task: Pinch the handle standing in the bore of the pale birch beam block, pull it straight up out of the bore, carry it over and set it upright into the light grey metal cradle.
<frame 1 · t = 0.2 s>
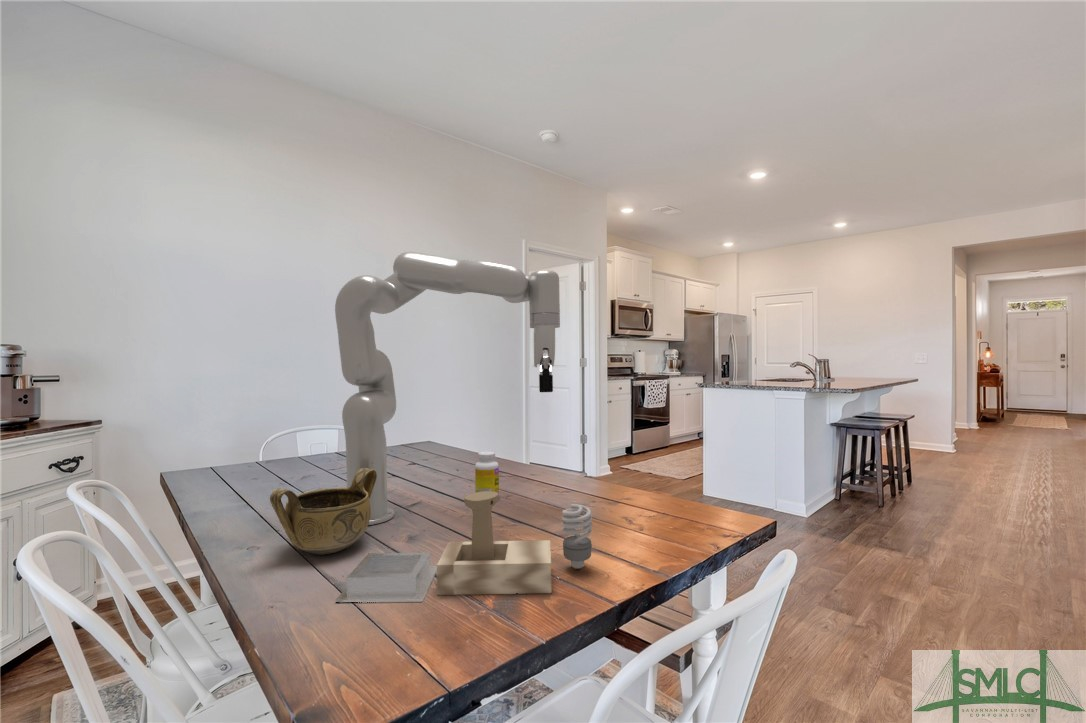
hand: (545, 390, 124), 31 cm above the table, tool pointing down, fingers open, 9 cm apart
beam block: (483, 580, 88), on the table
supplement bottle: (487, 499, 140), on the table
light bulb: (577, 570, 92), on the table
cradle: (391, 584, 87), on the table
ceramic bowl: (329, 550, 104), on the table
handle: (483, 581, 88), resting in beam block
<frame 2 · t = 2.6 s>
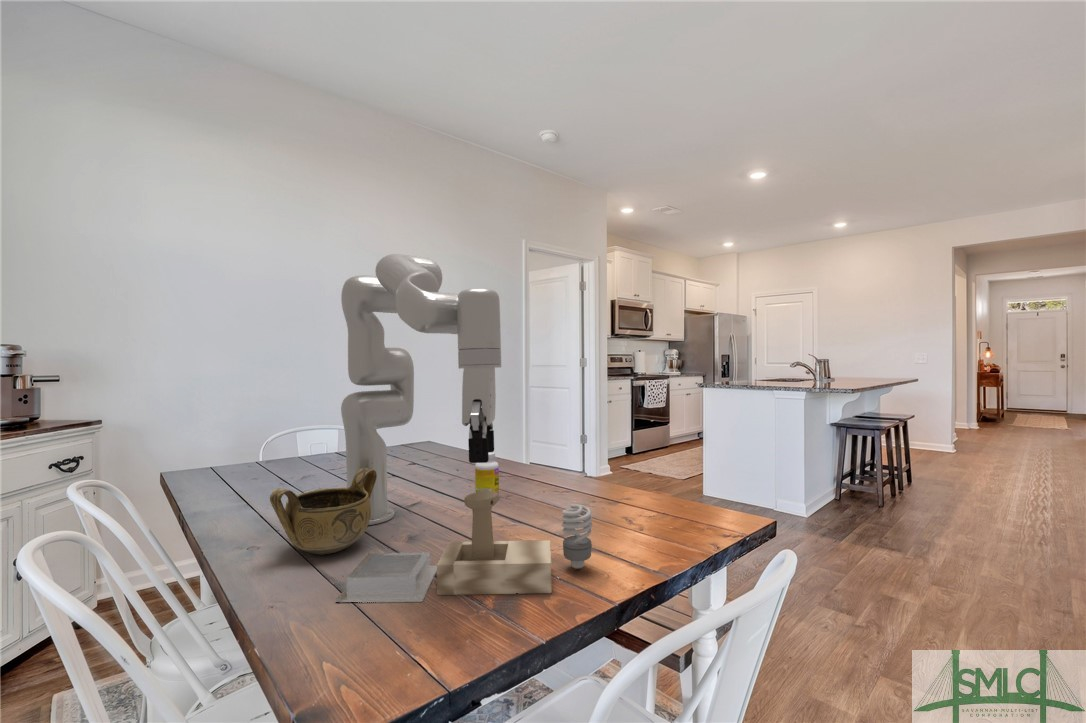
hand: (482, 456, 88), 22 cm above the table, tool pointing down, fingers open, 9 cm apart
nothing on the table moved.
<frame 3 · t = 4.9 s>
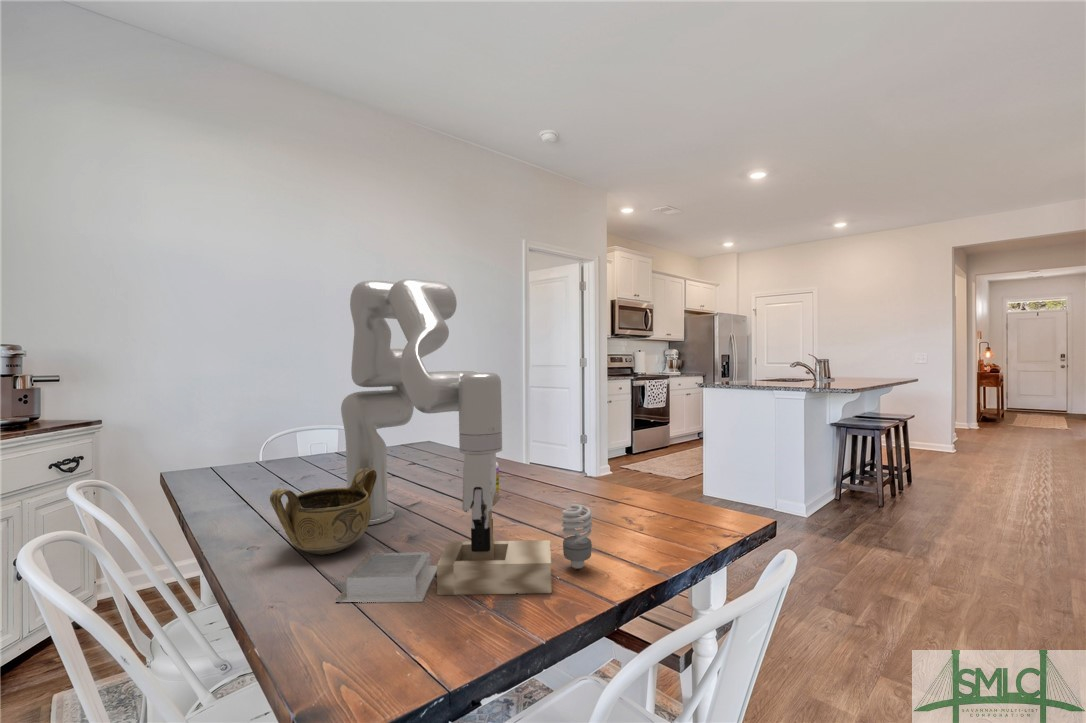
hand: (482, 544, 88), 6 cm above the table, tool pointing down, fingers closed on handle, 3 cm apart
handle: (483, 581, 88), resting in beam block, touching gripper
everything else where it was.
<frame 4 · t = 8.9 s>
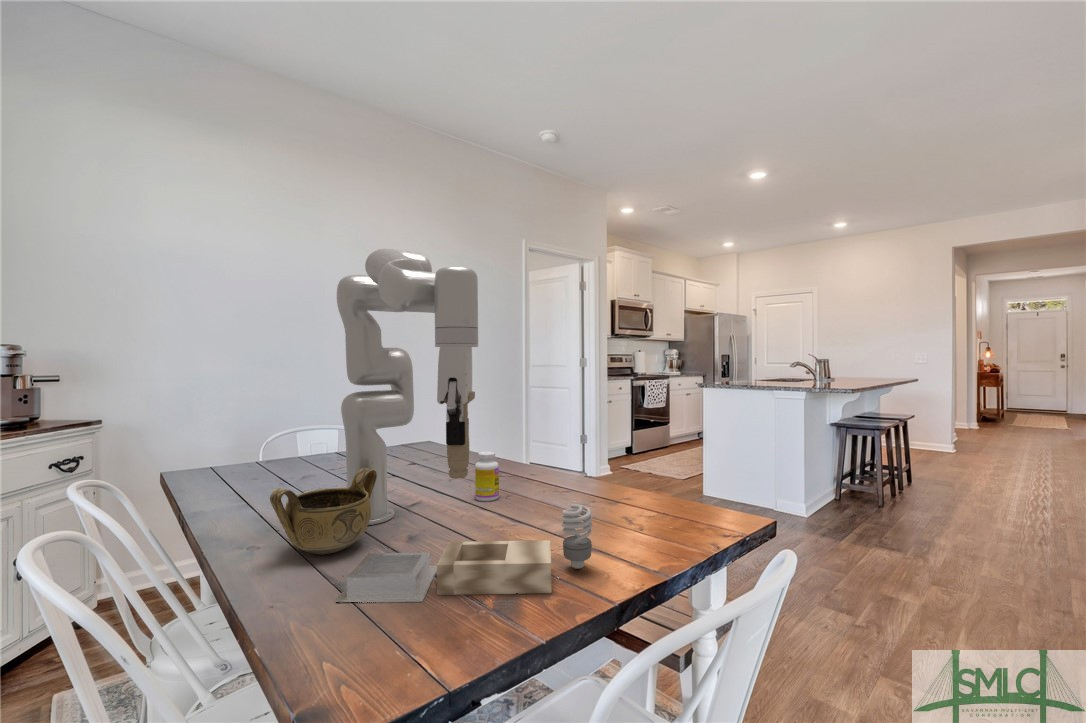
hand: (457, 441, 88), 25 cm above the table, tool pointing down, fingers closed on handle, 3 cm apart
handle: (458, 478, 88), point 18 cm above the table, touching gripper
everything else where it was.
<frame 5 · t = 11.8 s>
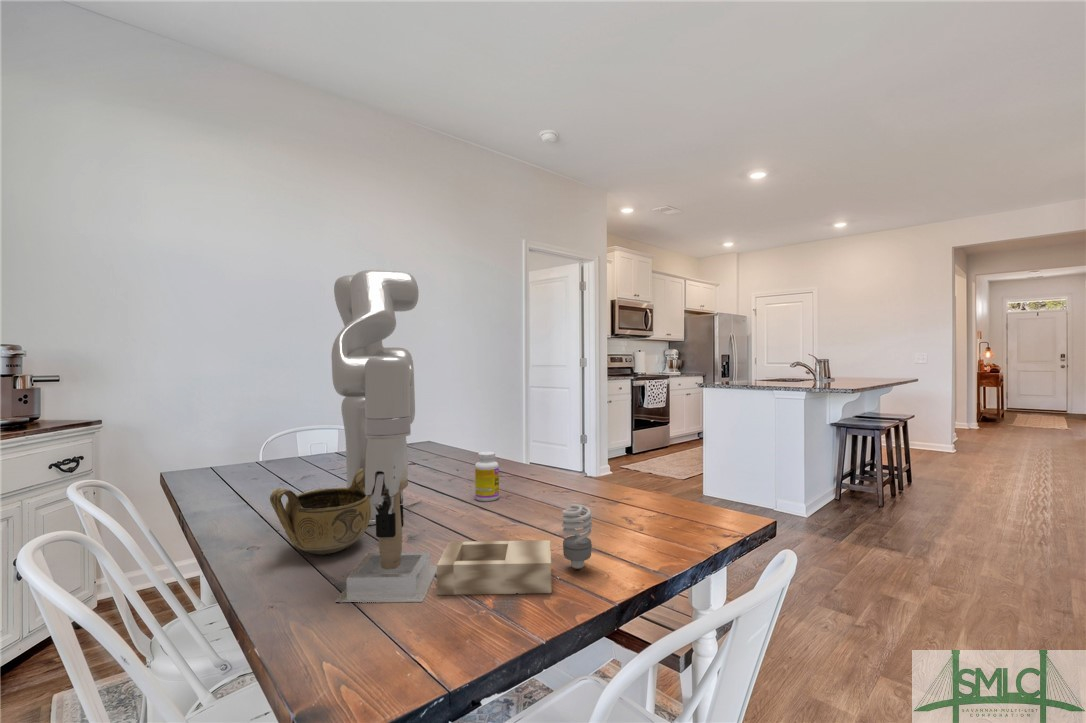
hand: (390, 530, 87), 9 cm above the table, tool pointing down, fingers closed on handle, 3 cm apart
handle: (390, 568, 87), point 3 cm above the table, touching gripper
everything else where it was.
when the fingers open (8 cm above the table, at t = 13.0 s): handle drops 1 cm, resting on cradle.
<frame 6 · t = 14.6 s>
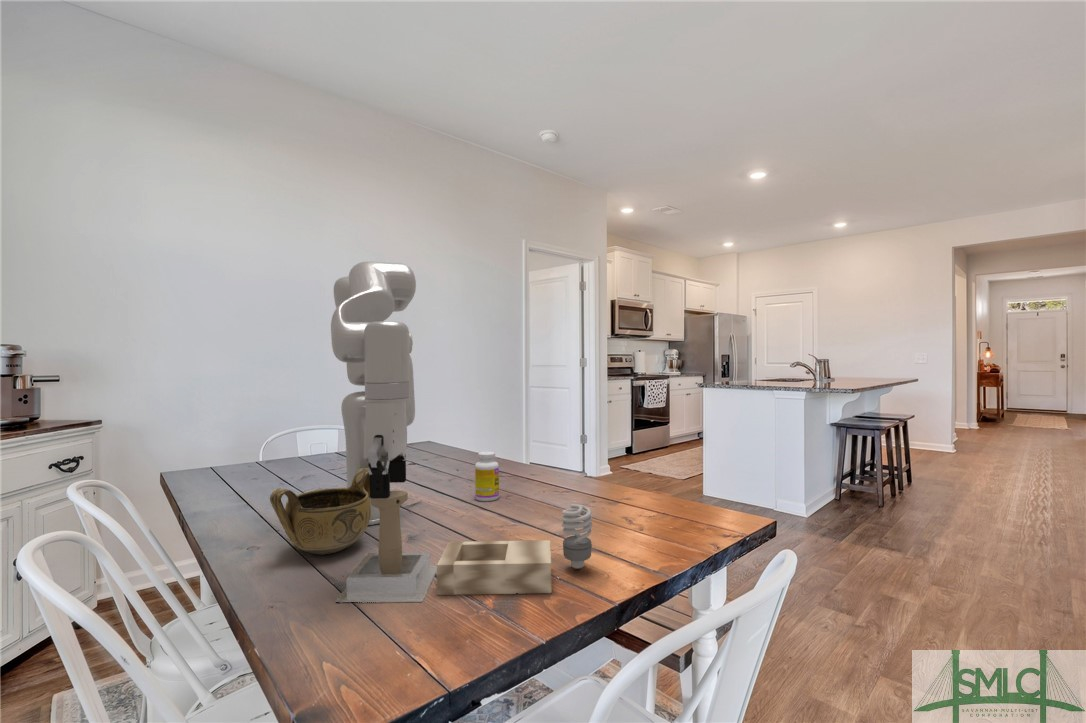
hand: (389, 489, 88), 16 cm above the table, tool pointing down, fingers open, 9 cm apart
handle: (391, 581, 88), resting on cradle
everything else where it was.
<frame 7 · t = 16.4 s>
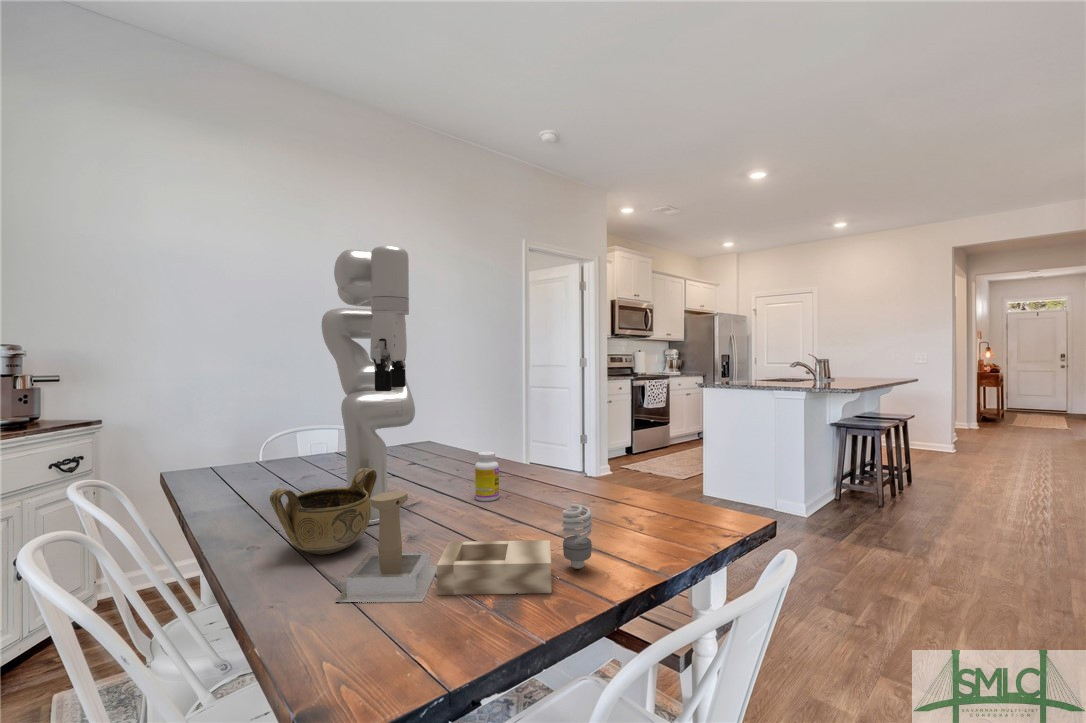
hand: (390, 388, 105), 33 cm above the table, tool pointing down, fingers open, 9 cm apart
nothing on the table moved.
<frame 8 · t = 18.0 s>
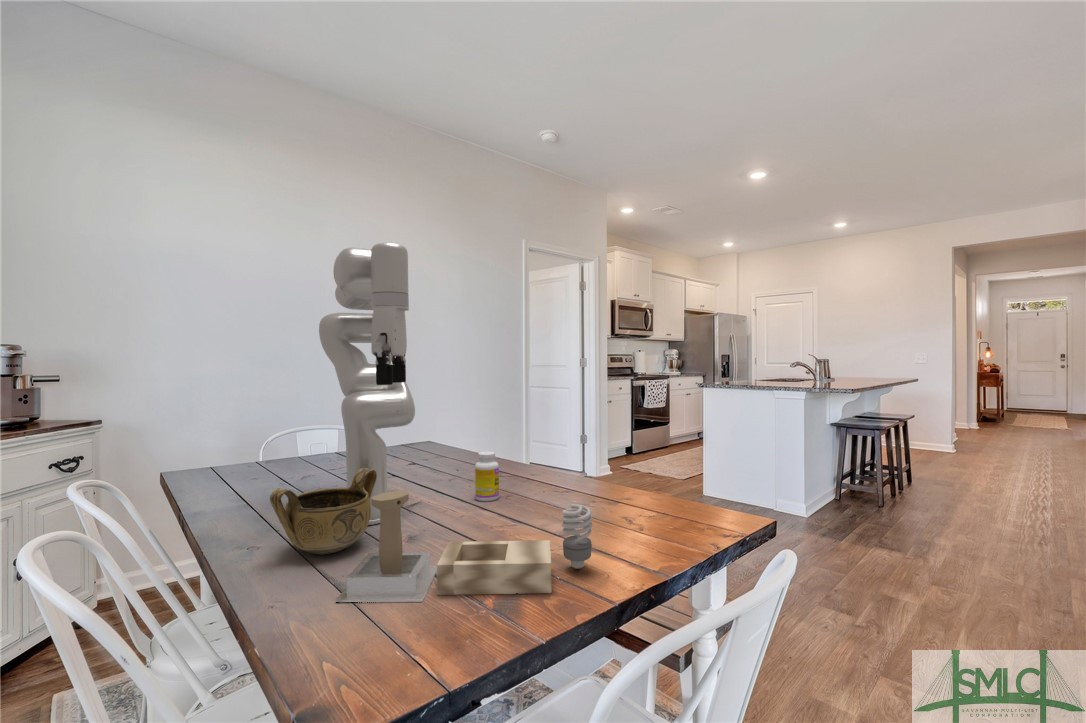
hand: (391, 383, 106), 34 cm above the table, tool pointing down, fingers open, 9 cm apart
nothing on the table moved.
at the end: handle 0.2 cm off-centre on the cradle, point 0.3 cm above the cradle's base; handle tilted 1°; the gripper is holding nothing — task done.
